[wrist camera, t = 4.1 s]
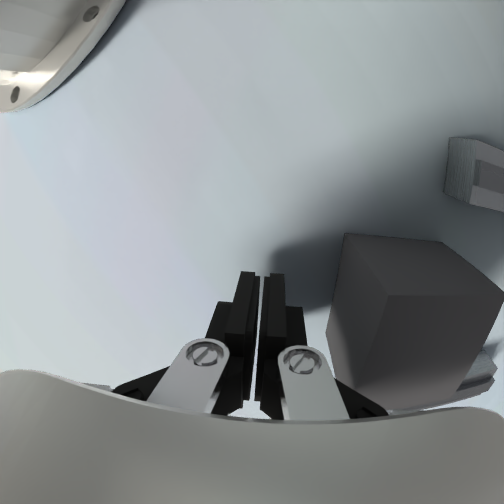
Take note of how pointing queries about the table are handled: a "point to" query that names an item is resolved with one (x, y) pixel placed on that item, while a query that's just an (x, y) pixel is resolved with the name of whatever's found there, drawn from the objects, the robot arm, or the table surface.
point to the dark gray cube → (407, 319)
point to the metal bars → (485, 195)
